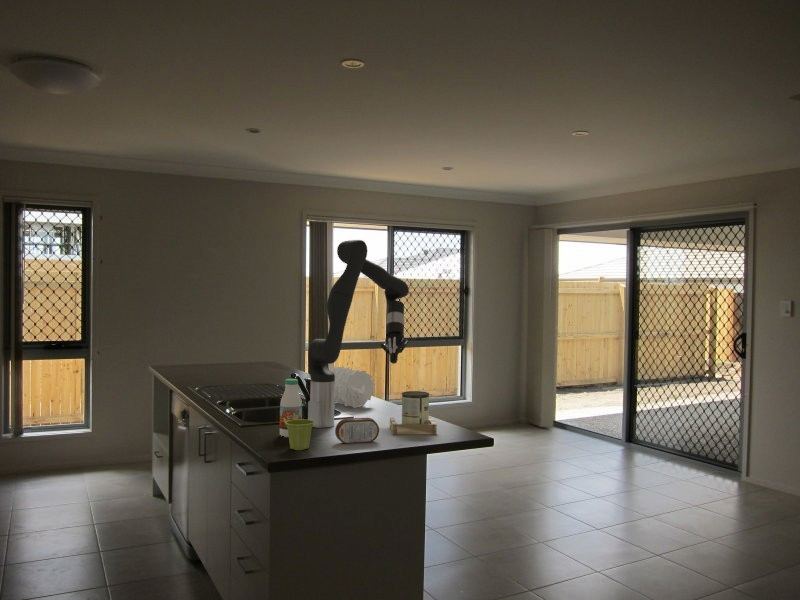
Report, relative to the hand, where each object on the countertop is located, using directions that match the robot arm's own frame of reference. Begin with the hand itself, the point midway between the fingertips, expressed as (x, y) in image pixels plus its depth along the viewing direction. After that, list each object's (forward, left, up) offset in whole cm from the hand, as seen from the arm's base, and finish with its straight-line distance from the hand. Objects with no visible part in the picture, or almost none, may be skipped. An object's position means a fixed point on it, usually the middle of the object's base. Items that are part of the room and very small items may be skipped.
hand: (393, 362), depth 266 cm
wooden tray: (-13, -21, -23) cm, 33 cm away
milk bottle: (-50, +5, -23) cm, 56 cm away
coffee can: (-12, -21, -23) cm, 34 cm away
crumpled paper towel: (+10, +37, -23) cm, 45 cm away
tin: (-42, -20, -23) cm, 52 cm away
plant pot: (-61, -12, -23) cm, 67 cm away
